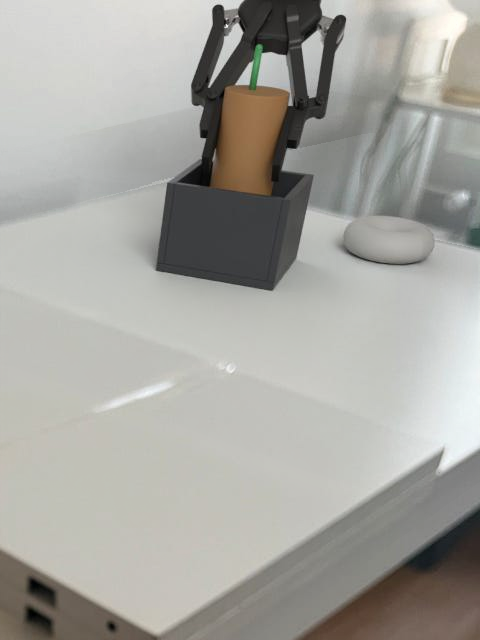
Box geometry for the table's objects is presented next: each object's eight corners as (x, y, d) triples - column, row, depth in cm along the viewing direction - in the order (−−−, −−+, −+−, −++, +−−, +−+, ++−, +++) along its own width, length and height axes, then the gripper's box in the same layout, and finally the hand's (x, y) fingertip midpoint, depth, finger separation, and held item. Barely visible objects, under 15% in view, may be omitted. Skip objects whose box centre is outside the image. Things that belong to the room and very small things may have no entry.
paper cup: (280, 197, 109) (310, 46, 100) (252, 208, 105) (280, 51, 96) (227, 185, 112) (251, 38, 103) (197, 196, 108) (220, 43, 99)
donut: (364, 237, 124) (324, 252, 118) (372, 207, 122) (331, 220, 116) (444, 257, 118) (406, 273, 112) (453, 226, 116) (415, 240, 110)
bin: (296, 258, 115) (314, 174, 110) (272, 290, 106) (290, 200, 101) (187, 240, 119) (199, 158, 114) (155, 270, 110) (166, 182, 104)
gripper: (382, 2, 107) (334, 203, 105) (199, -13, 112) (148, 180, 109) (395, -58, 100) (343, 157, 98) (198, -70, 105) (143, 134, 102)
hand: (240, 168), depth 103 cm, fingers closed on paper cup, 6 cm apart
